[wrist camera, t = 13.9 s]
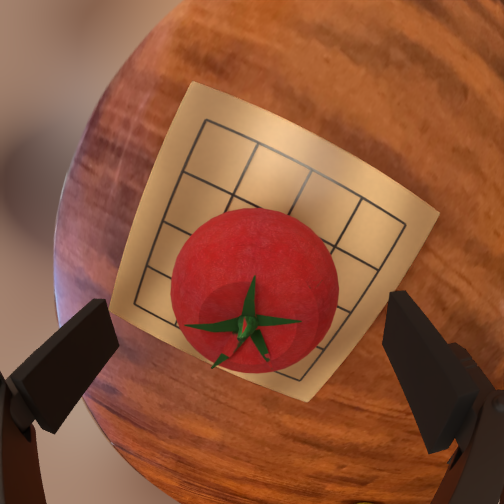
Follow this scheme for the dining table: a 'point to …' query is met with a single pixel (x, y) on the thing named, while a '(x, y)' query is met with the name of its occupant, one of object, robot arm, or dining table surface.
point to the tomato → (254, 290)
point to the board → (273, 198)
